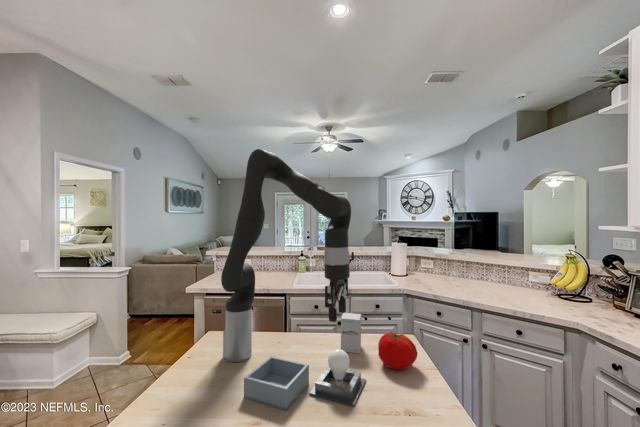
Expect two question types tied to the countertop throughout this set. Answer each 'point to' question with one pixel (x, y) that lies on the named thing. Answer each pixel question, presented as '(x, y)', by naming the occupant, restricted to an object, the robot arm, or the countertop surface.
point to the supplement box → (351, 332)
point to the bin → (276, 382)
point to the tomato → (397, 351)
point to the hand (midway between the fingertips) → (337, 316)
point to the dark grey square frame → (339, 387)
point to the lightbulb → (338, 365)
